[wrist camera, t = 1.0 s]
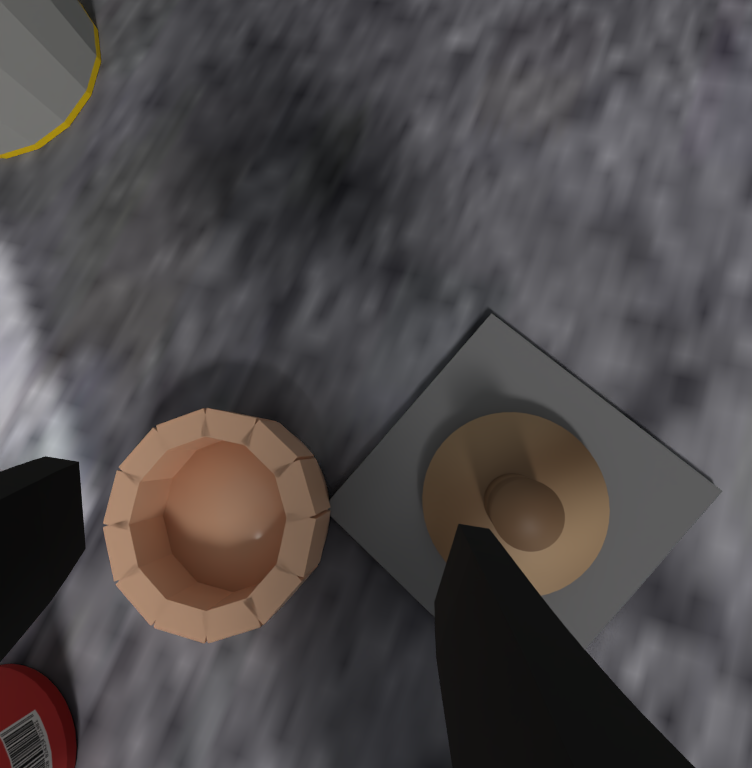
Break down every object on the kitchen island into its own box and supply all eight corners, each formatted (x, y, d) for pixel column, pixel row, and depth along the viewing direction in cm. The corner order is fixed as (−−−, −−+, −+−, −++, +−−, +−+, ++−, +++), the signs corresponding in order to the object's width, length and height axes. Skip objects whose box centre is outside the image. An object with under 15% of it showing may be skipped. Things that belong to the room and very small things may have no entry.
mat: (716, 490, 19) (722, 491, 18) (529, 706, 19) (531, 711, 18) (490, 315, 21) (491, 313, 21) (324, 506, 21) (322, 508, 21)
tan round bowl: (371, 504, 21) (358, 515, 18) (242, 654, 21) (206, 691, 18) (238, 378, 23) (205, 368, 20) (118, 515, 23) (66, 526, 20)
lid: (641, 493, 19) (699, 507, 15) (524, 631, 19) (546, 685, 15) (497, 379, 20) (510, 361, 16) (388, 506, 20) (373, 521, 16)
